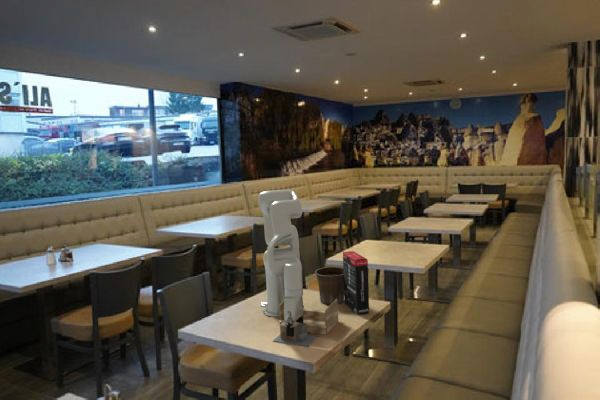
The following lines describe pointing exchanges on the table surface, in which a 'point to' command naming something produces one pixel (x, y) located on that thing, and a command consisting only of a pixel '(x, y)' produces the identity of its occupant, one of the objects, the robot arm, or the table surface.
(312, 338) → the rubber mat
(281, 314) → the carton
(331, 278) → the plant pot
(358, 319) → the table surface
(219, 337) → the table surface
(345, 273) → the graphics card box
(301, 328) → the walnut block
